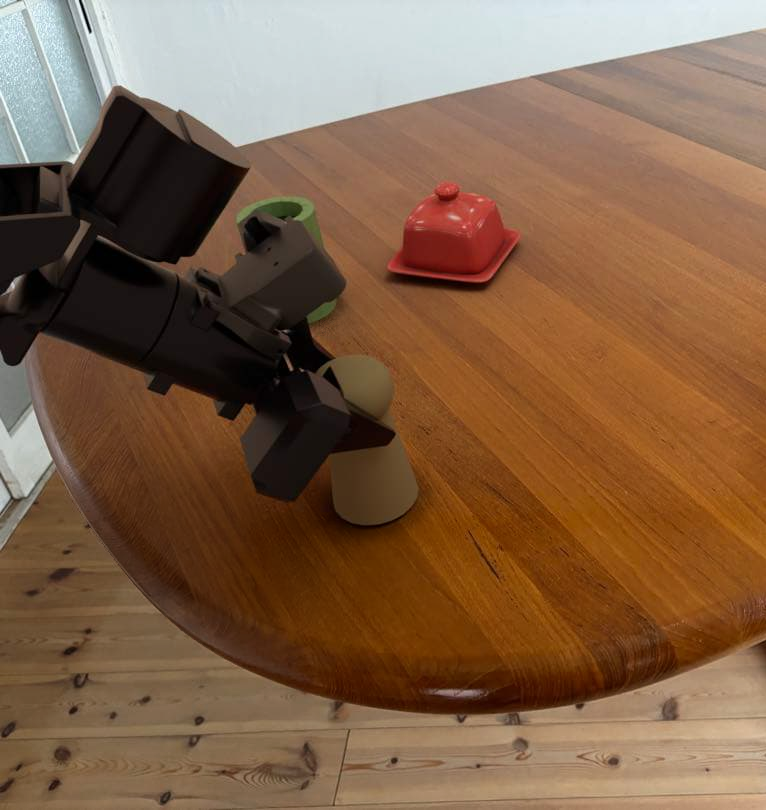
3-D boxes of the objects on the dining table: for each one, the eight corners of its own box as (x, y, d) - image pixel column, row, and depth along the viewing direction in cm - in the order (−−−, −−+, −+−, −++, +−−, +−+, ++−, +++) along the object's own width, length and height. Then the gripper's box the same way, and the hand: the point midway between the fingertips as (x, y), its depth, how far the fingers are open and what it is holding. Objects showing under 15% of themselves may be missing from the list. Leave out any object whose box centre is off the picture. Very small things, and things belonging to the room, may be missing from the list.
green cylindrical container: (265, 332, 77) (235, 234, 71) (264, 296, 82) (236, 203, 76) (339, 318, 78) (316, 221, 72) (334, 284, 83) (311, 191, 77)
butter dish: (487, 294, 80) (479, 213, 75) (382, 281, 83) (367, 203, 78) (526, 241, 89) (521, 165, 83) (429, 231, 92) (418, 157, 87)
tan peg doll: (434, 478, 59) (413, 352, 53) (388, 535, 55) (359, 406, 48) (365, 457, 62) (336, 334, 55) (315, 510, 57) (278, 383, 51)
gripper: (264, 271, 36) (509, 397, 46) (204, 142, 50) (404, 262, 60) (136, 462, 38) (397, 542, 49) (112, 289, 52) (320, 380, 62)
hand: (380, 416), depth 55 cm, fingers closed on tan peg doll, 5 cm apart
